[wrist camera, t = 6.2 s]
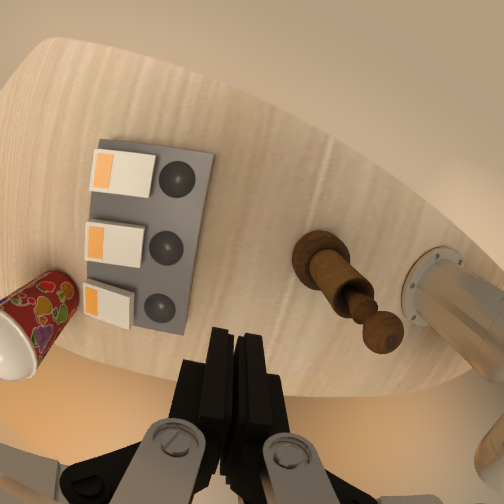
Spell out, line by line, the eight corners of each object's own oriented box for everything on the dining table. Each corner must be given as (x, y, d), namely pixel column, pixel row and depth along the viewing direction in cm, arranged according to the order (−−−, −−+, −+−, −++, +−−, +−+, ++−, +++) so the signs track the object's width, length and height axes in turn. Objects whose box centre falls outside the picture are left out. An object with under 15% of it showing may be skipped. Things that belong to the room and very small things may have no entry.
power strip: (215, 155, 30) (213, 154, 26) (186, 320, 35) (183, 337, 32) (112, 140, 28) (98, 138, 24) (98, 301, 34) (87, 315, 30)
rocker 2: (134, 292, 28) (129, 297, 27) (133, 324, 30) (128, 330, 28) (88, 278, 29) (82, 282, 27) (89, 309, 30) (83, 314, 28)
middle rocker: (145, 226, 28) (143, 229, 26) (141, 263, 29) (139, 268, 27) (89, 218, 26) (85, 221, 25) (87, 256, 27) (84, 260, 26)
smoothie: (31, 266, 31) (-64, 338, 12) (75, 258, 32) (-27, 343, 13) (50, 319, 34) (-23, 408, 15) (94, 316, 34) (23, 423, 15)
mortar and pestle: (282, 246, 33) (335, 332, 16) (331, 220, 33) (422, 280, 16) (305, 292, 35) (361, 393, 18) (350, 267, 35) (434, 349, 18)
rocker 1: (156, 155, 26) (155, 155, 24) (149, 196, 27) (148, 198, 26) (98, 148, 24) (94, 148, 23) (92, 189, 25) (88, 190, 24)
